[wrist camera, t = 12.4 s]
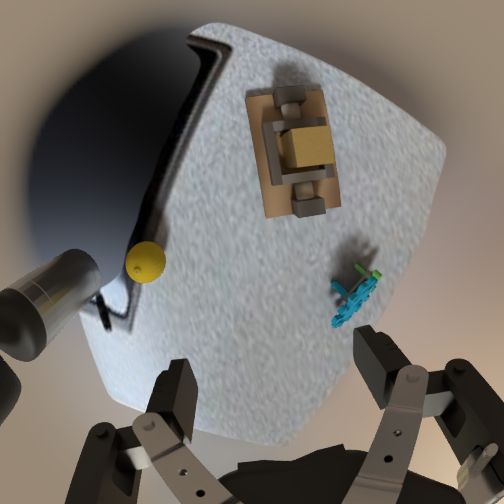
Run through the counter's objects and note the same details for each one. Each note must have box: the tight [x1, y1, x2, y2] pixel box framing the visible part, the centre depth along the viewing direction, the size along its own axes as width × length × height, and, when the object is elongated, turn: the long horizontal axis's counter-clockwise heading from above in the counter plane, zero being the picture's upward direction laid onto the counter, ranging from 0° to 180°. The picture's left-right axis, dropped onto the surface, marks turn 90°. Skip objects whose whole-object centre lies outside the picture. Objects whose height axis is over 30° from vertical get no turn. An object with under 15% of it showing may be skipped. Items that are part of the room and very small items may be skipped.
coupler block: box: [280, 126, 335, 168], centre depth 33 cm, size 4×4×9 cm
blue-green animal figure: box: [331, 264, 382, 329], centre depth 43 cm, size 11×6×10 cm
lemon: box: [126, 241, 166, 283], centre depth 38 cm, size 6×6×8 cm
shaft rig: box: [245, 85, 341, 219], centre depth 36 cm, size 11×17×6 cm, turn 10°
